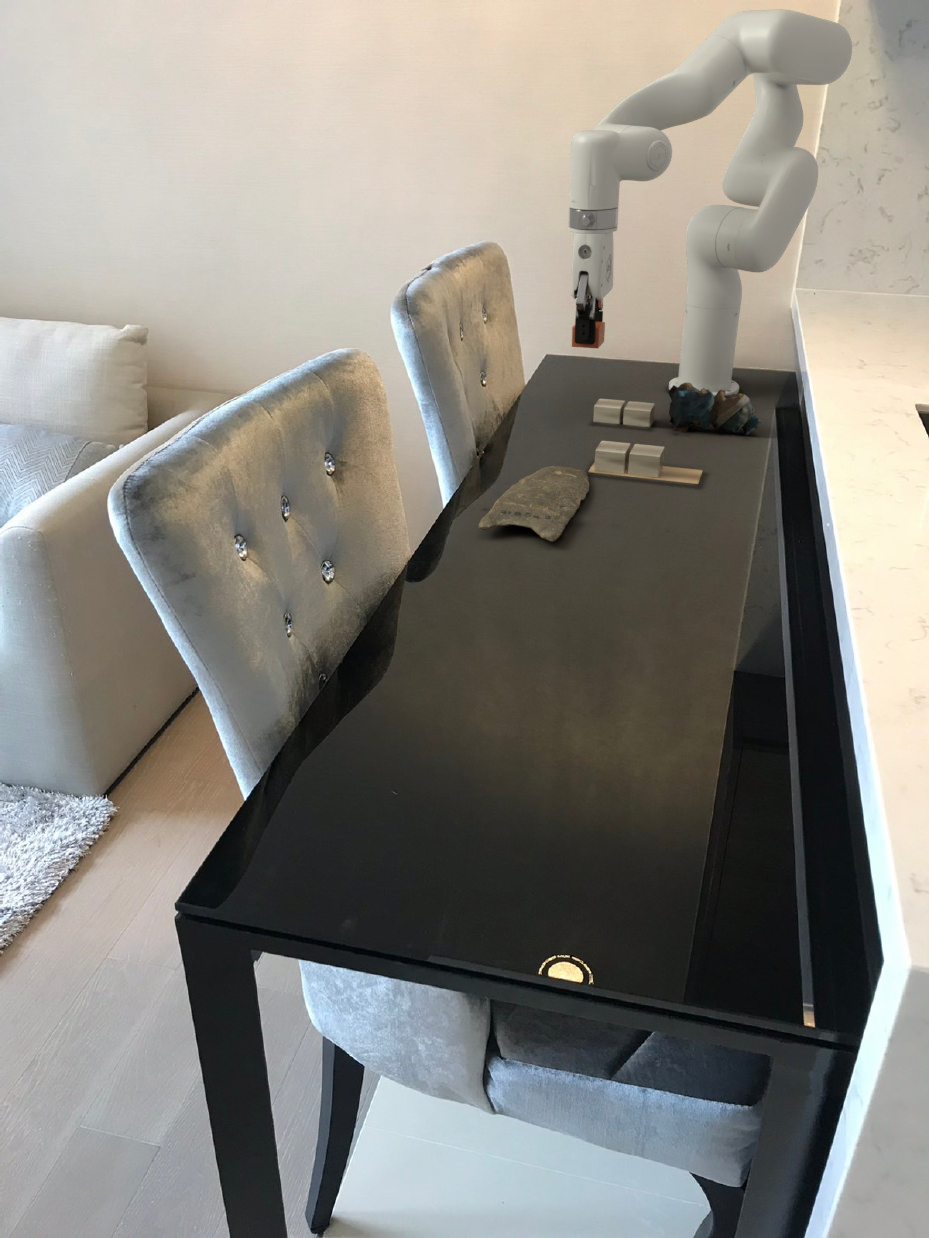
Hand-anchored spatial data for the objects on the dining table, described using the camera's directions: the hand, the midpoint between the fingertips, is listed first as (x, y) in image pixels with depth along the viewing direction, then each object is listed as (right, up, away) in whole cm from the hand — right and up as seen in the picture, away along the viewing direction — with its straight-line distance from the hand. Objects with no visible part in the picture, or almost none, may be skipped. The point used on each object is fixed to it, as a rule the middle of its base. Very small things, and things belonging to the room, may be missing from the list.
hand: (588, 338), depth 162 cm
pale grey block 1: (+2, -23, -14) cm, 27 cm away
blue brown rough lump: (+20, -15, +1) cm, 25 cm away
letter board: (+7, -24, -15) cm, 29 cm away
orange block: (0, -1, 0) cm, 1 cm away
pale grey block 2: (+9, -13, +5) cm, 17 cm away
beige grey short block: (+4, -12, +6) cm, 14 cm away
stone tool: (-9, -30, -25) cm, 41 cm away
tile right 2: (+7, -24, -15) cm, 29 cm away
